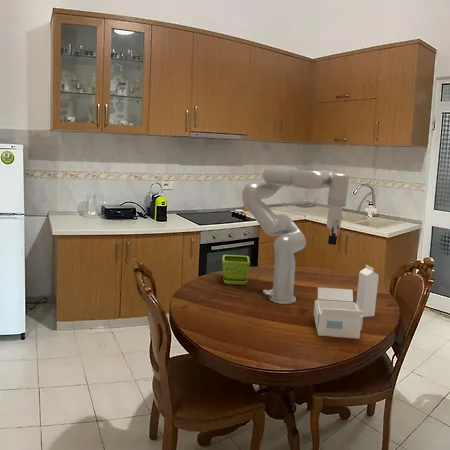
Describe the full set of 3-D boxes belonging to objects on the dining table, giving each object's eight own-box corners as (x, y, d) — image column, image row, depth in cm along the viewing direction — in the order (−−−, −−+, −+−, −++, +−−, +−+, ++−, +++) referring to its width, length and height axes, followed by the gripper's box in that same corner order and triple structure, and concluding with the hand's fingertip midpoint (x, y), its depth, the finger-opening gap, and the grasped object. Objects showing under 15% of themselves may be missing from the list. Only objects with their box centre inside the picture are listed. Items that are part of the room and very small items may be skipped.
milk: (362, 317, 214) (367, 268, 209) (355, 312, 220) (359, 264, 215) (374, 316, 216) (379, 268, 211) (367, 311, 221) (371, 264, 217)
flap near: (321, 313, 191) (321, 314, 190) (323, 307, 186) (323, 308, 186) (360, 316, 190) (360, 317, 189) (362, 310, 185) (362, 311, 185)
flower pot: (248, 286, 248) (250, 262, 245) (221, 285, 248) (222, 261, 245) (247, 278, 261) (249, 255, 259) (221, 277, 261) (222, 254, 259)
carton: (316, 335, 193) (318, 313, 191) (312, 319, 209) (314, 299, 207) (361, 338, 192) (363, 317, 190) (354, 322, 207) (356, 302, 205)
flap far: (353, 301, 206) (352, 301, 206) (352, 289, 208) (352, 290, 209) (317, 298, 207) (317, 299, 207) (317, 287, 209) (317, 287, 210)
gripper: (326, 198, 215) (321, 239, 219) (329, 204, 200) (324, 247, 204) (343, 199, 214) (338, 240, 218) (348, 205, 199) (342, 249, 203)
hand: (331, 244), depth 211 cm, fingers closed
